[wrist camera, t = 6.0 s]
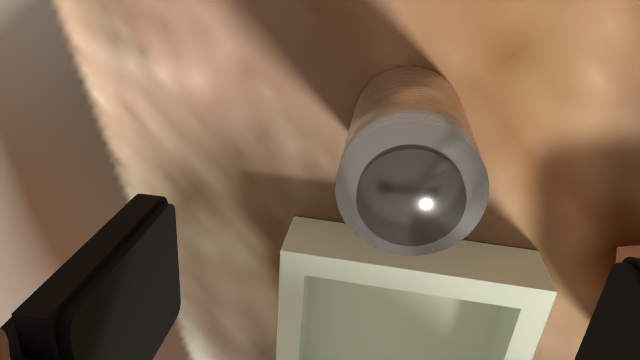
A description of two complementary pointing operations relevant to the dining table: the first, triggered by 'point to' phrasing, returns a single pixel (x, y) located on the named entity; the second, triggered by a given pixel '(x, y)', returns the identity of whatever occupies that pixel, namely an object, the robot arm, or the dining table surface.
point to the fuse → (411, 165)
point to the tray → (406, 299)
